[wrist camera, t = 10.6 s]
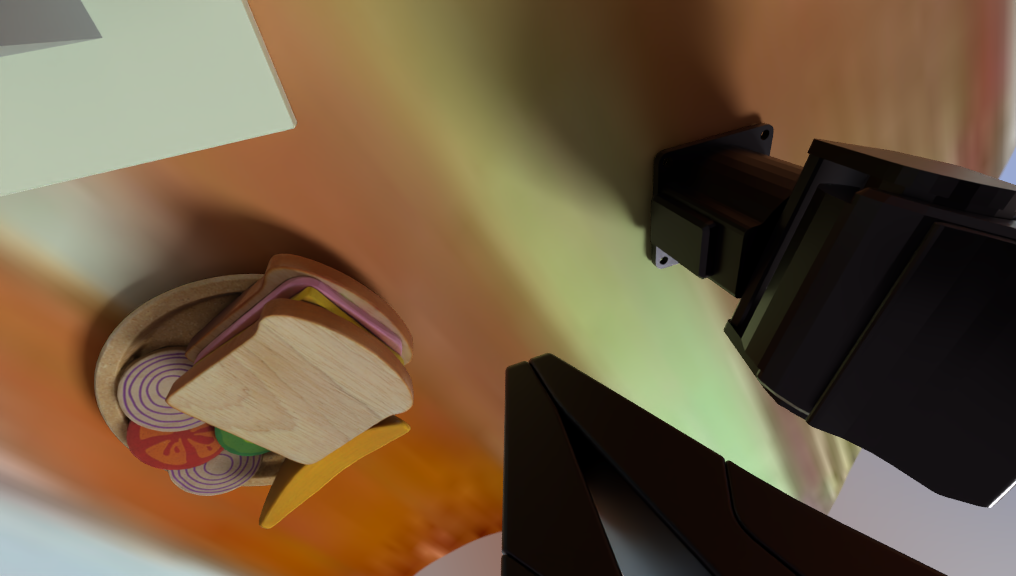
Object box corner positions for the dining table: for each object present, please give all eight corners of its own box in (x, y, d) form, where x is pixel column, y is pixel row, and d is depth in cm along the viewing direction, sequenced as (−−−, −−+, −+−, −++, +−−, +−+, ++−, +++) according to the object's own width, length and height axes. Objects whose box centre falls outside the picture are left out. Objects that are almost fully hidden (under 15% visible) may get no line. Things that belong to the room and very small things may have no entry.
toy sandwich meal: (25, 372, 18) (-62, 469, 14) (304, 192, 18) (293, 240, 14) (261, 498, 25) (246, 585, 21) (461, 371, 25) (483, 436, 21)
